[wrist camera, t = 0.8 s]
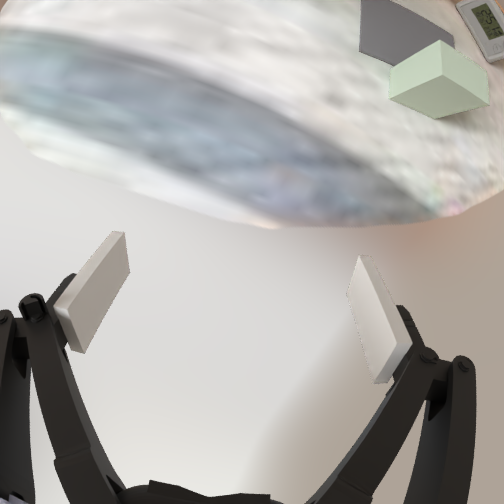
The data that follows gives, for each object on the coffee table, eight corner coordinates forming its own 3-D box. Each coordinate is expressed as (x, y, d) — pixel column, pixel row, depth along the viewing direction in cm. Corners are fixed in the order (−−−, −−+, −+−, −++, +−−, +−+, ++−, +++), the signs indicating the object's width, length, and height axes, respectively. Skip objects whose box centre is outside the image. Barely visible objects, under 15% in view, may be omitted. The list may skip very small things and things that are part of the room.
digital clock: (450, 2, 38) (477, -15, 28) (472, 9, 38) (498, -5, 28) (478, 62, 41) (511, 50, 31) (498, 65, 42) (528, 56, 31)
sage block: (389, 69, 40) (439, 39, 26) (434, 90, 41) (486, 71, 28) (388, 99, 41) (442, 74, 27) (433, 119, 42) (489, 105, 29)
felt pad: (361, -11, 36) (362, -12, 36) (451, 36, 40) (452, 35, 39) (359, 51, 39) (360, 50, 38) (456, 98, 42) (457, 98, 42)
